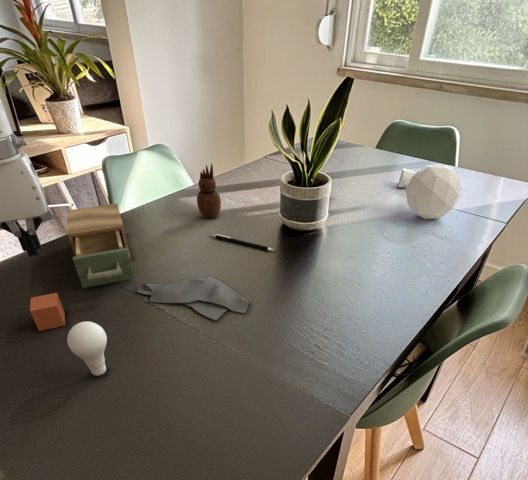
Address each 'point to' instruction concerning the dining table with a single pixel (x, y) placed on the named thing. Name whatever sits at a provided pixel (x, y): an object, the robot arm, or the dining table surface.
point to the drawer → (101, 259)
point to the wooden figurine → (208, 195)
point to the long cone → (405, 177)
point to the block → (47, 311)
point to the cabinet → (95, 223)
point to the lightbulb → (89, 345)
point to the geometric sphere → (433, 191)
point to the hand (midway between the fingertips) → (34, 252)
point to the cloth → (197, 296)
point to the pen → (242, 242)
